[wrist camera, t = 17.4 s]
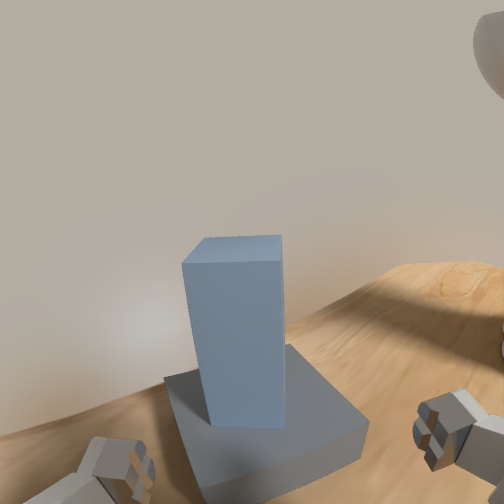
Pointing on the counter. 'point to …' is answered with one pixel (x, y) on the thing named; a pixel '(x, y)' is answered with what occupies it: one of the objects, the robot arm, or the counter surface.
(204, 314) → the slate-blue block
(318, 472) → the charcoal block
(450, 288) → the counter surface
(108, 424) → the counter surface
